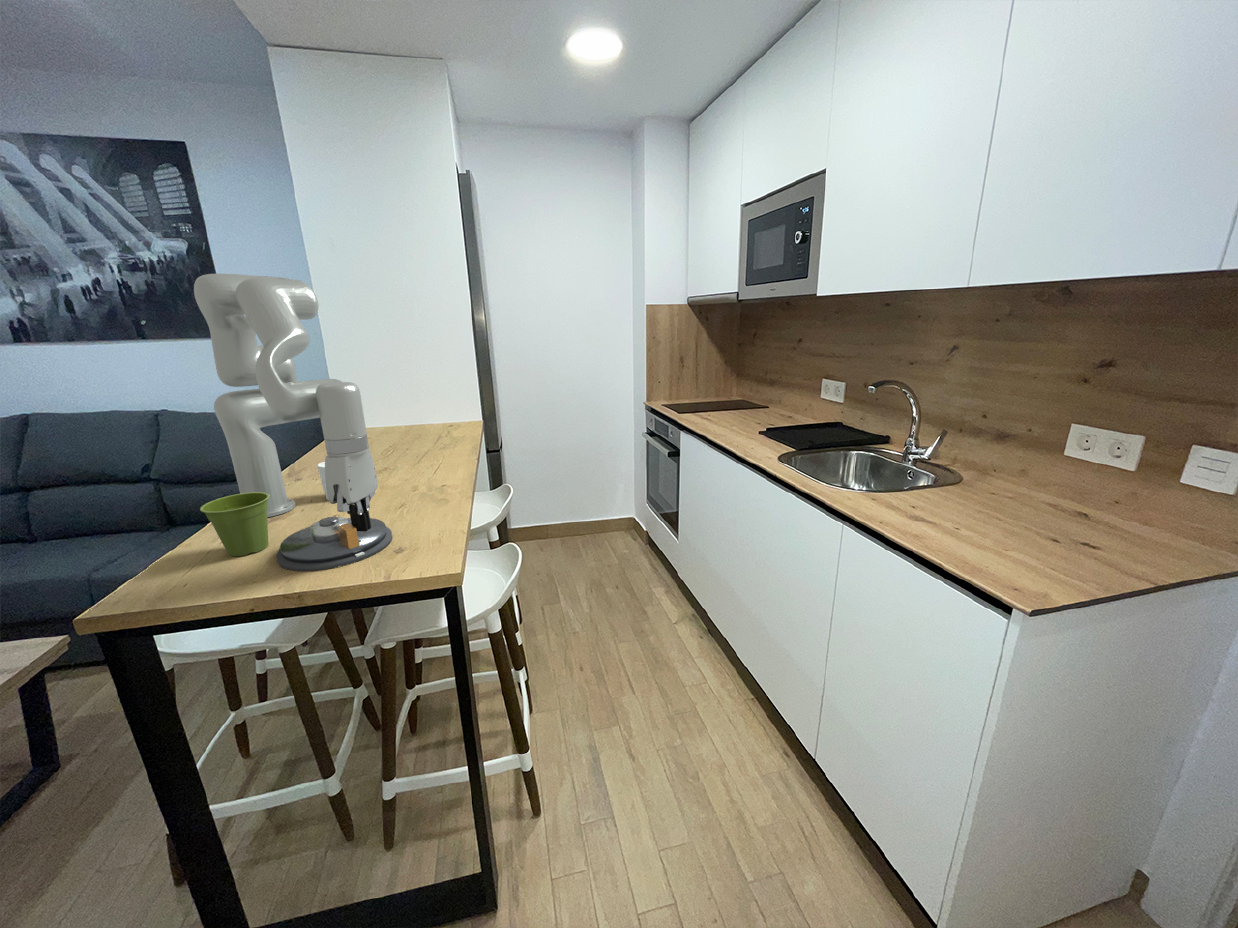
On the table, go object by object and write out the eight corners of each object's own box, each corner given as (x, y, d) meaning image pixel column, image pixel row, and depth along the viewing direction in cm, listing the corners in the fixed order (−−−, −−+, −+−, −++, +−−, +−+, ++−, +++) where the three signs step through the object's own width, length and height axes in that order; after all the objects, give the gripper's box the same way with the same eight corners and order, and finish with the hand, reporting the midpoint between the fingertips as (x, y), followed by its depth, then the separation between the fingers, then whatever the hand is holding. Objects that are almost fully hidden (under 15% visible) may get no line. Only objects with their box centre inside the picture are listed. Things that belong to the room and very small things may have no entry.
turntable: (268, 544, 106) (262, 521, 105) (363, 516, 121) (360, 495, 119) (300, 572, 93) (294, 546, 92) (403, 537, 108) (399, 514, 106)
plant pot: (223, 544, 110) (210, 497, 107) (285, 534, 114) (275, 488, 111) (204, 567, 100) (190, 515, 96) (274, 555, 104) (262, 505, 101)
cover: (307, 537, 106) (304, 521, 105) (342, 527, 111) (339, 511, 110) (320, 546, 101) (317, 529, 100) (355, 534, 106) (352, 518, 105)
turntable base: (249, 568, 98) (248, 562, 98) (326, 525, 119) (325, 520, 119) (351, 573, 95) (350, 567, 95) (411, 528, 116) (410, 523, 116)
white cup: (361, 492, 143) (355, 459, 140) (344, 501, 136) (337, 467, 133) (335, 492, 144) (329, 459, 141) (317, 501, 136) (310, 466, 134)
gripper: (353, 436, 106) (367, 515, 111) (302, 454, 92) (321, 544, 97) (386, 436, 105) (398, 516, 110) (339, 455, 91) (356, 546, 96)
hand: (362, 529), depth 103 cm, fingers closed
